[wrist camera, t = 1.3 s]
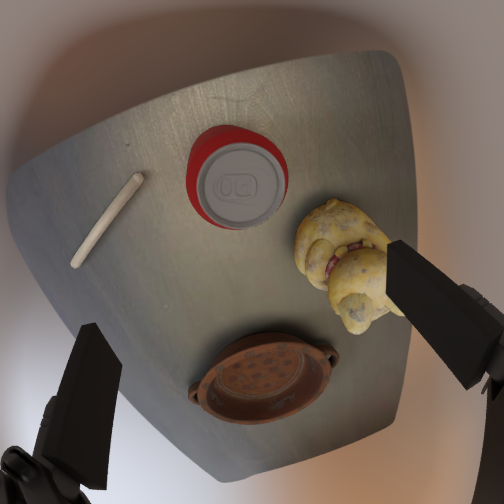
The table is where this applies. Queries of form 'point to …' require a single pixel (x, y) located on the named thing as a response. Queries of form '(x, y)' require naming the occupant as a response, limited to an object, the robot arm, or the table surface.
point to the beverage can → (235, 177)
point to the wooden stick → (107, 218)
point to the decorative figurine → (345, 262)
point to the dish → (264, 378)
